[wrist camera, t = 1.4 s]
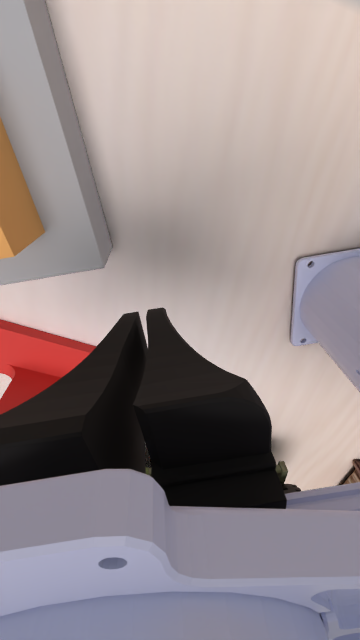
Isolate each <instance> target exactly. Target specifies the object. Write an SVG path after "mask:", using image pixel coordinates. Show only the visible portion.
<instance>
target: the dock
mask: <svg viewBox="0 0 360 640" xmlns="http://www.w3.org/2000/svg"><path fill="white" fill-rule="evenodd" d="M0 117H1V120H2V122H3V125H4V127H5V130H6V133H7V135H8V138H9V140H10V143H11V145H12V148H13V150H14V153H15V156H16V158H17V161H18V163H19V166H20V168H21V171H22V174H23V176H24V179H25V181H26V184H27V186H28V189H29V192H30V194H31V197H32V199H33V202H34V204H35V207H36V209H37V212H38V215H39V217H40V220H41V222H42V225H43V227H44V230H45V233H44V234H42V235H41V236H40V237H39V238H37V239H36V240H35V241H34V242H32V243H31V244H30V245H28V246H27V247H26V248H25V249H23V250H22V251H21V252H20V253H18V254H17V255H16V256H15V257H10V258H4V259H0V285H6V284H11V283H17V282H23V281H29V280H35V279H41V278H47V277H53V276H59V275H65V274H71V273H77V272H83V271H89V270H95V269H101V268H104V267H105V265H106V262H107V260H108V257H109V255H110V253H111V250H112V248H113V246H112V243H111V239H110V235H109V232H108V228H107V225H106V221H105V217H104V214H103V210H102V206H101V203H100V199H99V195H98V192H97V188H96V184H95V181H94V177H93V174H92V170H91V166H90V163H89V159H88V155H87V152H86V148H85V144H84V141H83V137H82V134H81V130H80V126H79V123H78V119H77V115H76V112H75V108H74V104H73V101H72V97H71V94H70V90H69V86H68V83H67V79H66V75H65V72H64V68H63V64H62V61H61V57H60V53H59V50H58V46H57V43H56V39H55V35H54V32H53V28H52V24H51V21H50V17H49V13H48V10H47V6H46V3H45V0H0Z"/></svg>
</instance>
